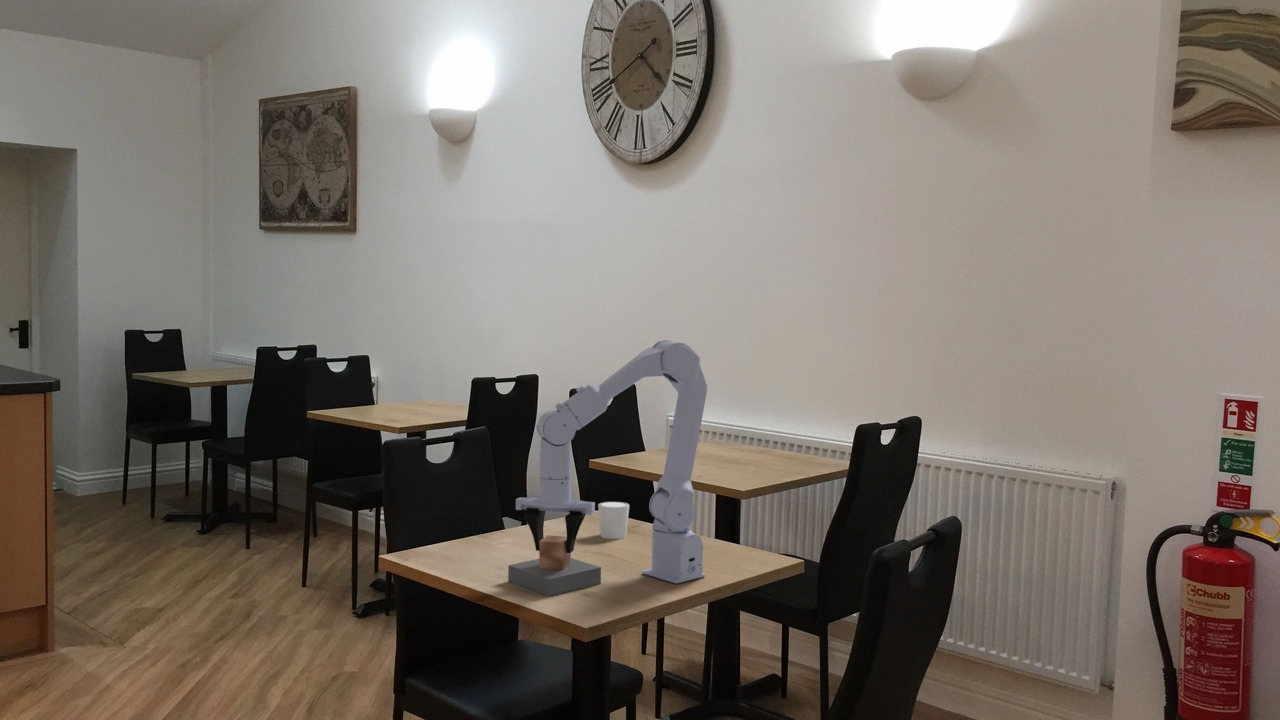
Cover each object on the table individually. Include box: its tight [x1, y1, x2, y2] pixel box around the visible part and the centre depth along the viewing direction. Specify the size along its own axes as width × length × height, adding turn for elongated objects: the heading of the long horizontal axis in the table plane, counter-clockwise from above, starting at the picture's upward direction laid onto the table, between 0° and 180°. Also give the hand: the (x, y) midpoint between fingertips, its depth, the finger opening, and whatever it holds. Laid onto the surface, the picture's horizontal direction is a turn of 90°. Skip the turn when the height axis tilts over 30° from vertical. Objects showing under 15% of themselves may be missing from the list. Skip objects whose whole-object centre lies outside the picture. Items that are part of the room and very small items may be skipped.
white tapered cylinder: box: [597, 501, 630, 540], centre depth 225 cm, size 7×7×7 cm
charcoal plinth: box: [507, 557, 602, 597], centre depth 189 cm, size 12×12×3 cm
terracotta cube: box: [538, 534, 572, 570], centre depth 189 cm, size 4×4×5 cm
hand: (554, 550), depth 188 cm, fingers open, 5 cm apart
